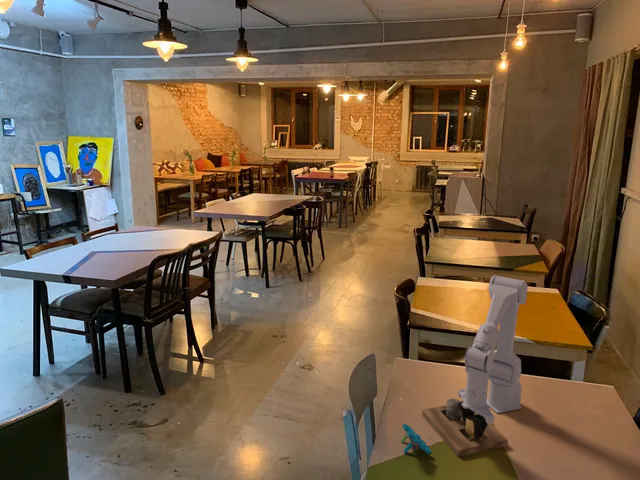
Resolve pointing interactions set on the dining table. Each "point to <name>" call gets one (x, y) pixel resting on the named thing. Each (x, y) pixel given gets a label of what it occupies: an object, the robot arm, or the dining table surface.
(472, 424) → the brass sleeve
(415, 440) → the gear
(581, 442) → the dining table surface
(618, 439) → the dining table surface
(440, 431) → the walnut jig
